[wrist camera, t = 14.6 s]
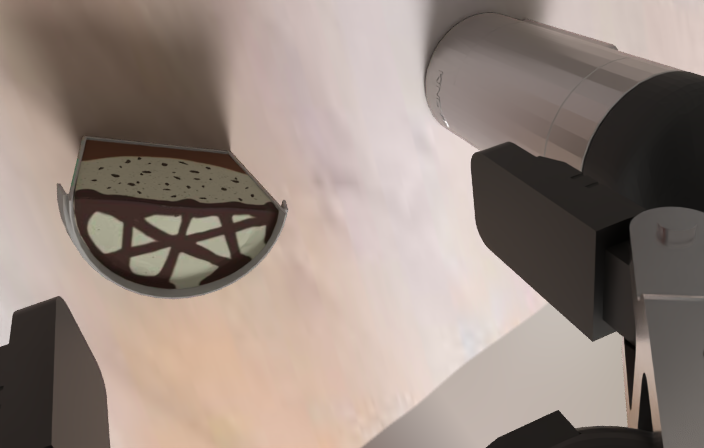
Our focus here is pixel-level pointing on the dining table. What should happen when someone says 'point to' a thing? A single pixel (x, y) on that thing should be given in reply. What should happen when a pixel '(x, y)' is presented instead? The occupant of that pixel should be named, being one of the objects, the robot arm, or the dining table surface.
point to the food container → (167, 216)
